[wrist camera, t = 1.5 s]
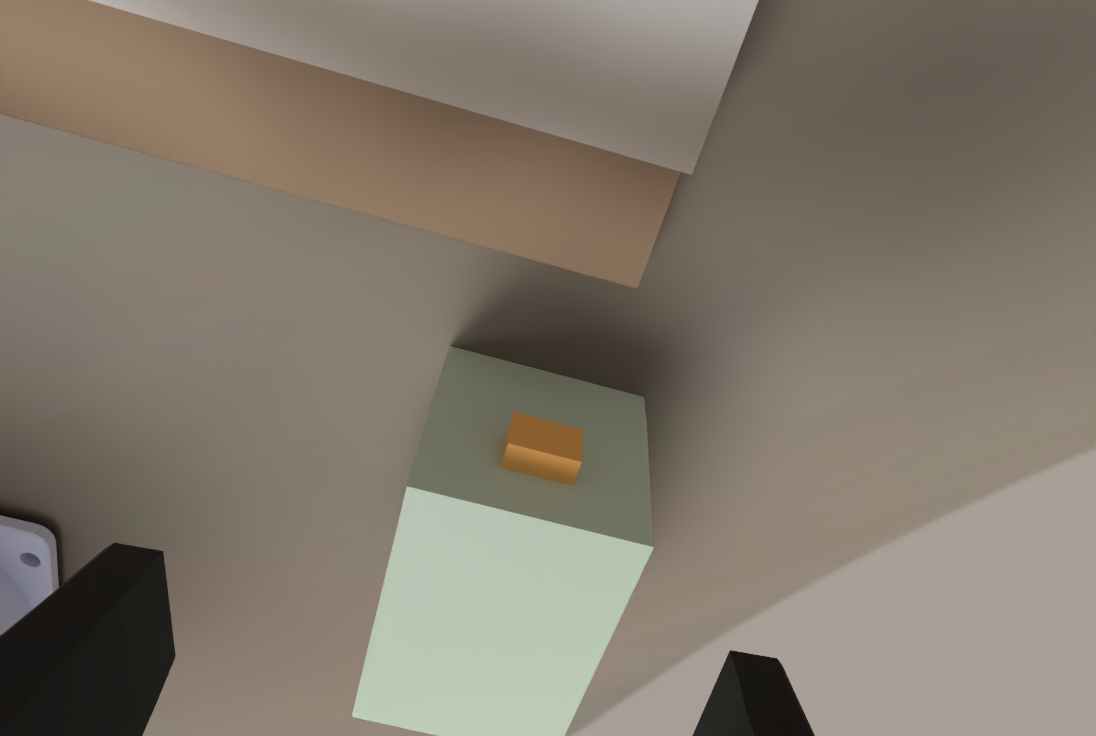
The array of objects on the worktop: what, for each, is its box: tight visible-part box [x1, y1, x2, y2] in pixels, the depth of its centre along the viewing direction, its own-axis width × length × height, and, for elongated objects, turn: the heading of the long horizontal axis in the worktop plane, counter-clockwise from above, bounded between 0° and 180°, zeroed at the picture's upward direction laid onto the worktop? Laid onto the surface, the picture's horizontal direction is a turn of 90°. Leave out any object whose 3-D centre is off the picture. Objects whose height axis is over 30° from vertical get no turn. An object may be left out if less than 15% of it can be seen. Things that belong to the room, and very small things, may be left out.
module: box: [352, 346, 654, 736], centre depth 19 cm, size 7×4×5 cm, turn 165°
